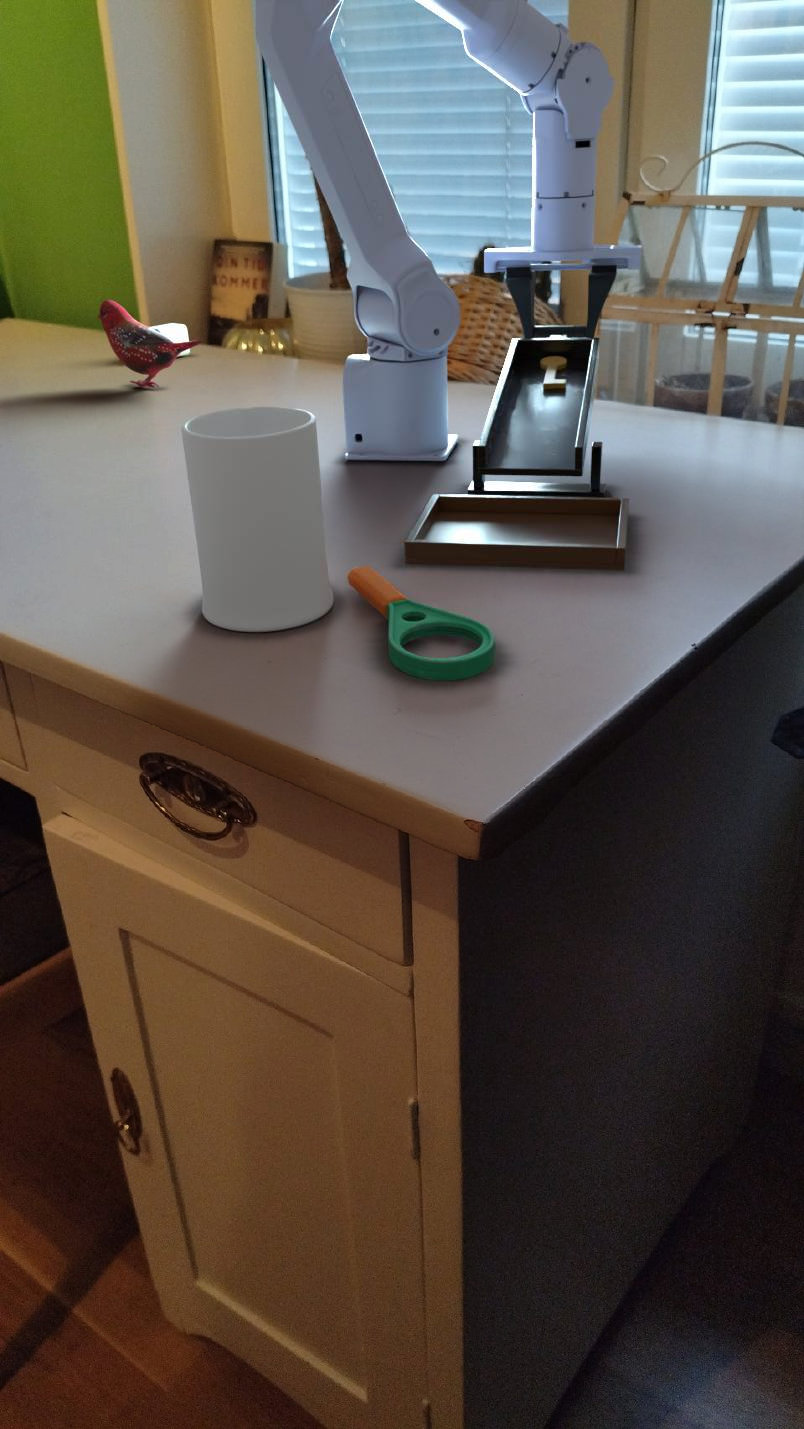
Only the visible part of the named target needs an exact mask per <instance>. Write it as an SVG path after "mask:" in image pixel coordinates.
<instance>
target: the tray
mask: <svg viewBox="0 0 804 1429" xmlns="http://www.w3.org/2000/svg"><path fill="white" fill-rule="evenodd" d="M629 508H630V498H629V497H577V496H528V495H479V494H444V493H440V494H438V493H433V494H431V496H430V498H429V500H428V501H427V503H426V504H425V506H424V508H423V510H422V512H421V513H420V515H419V517H418V518H417V520H416V521H415V523H414V526H413V527H412V529H411V530H410V532H409V534H408V536H407V537H406V539H404V540H405V541H404V557H405V558H404V560H405V561H404V563H405V564H415V565H416V564H417V565H418V564H421V565H448V566H449V565H450V566H476V567H477V566H478V567H481V566H483V567H508V568H511V567H512V568H538V569H541V568H542V569H568V570H569V569H572V570H598V571H599V570H600V571H601V570H602V571H625V567H626V552H627V541H628V540H627V538H628V525H629V523H628V522H629Z"/></svg>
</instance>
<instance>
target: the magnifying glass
mask: <svg viewBox="0 0 804 1429" xmlns="http://www.w3.org/2000/svg"><path fill="white" fill-rule="evenodd" d="M347 582H348V584H349V585H350V587H352V588H353V589H354V590H355V591H356V592H357V593H358V594H359V595H360V596H361V597H362V598H364V599H365V600H366V602H368V603H369V604H370V605H371V606H372V607H373V608H375V609H376V611H378V612H379V613H380V614H381V616H383V617H384V618H385V619H387V621H388V636H387V639H388V640H387V645H388V658H389V660H390V662H391V663H392V665H393V666H394V667H396V668H397V669H398V670H400V671H401V672H403V673H405V674H407V675H410V676H413V677H415V678H419V679H425V680H429V681H431V680H432V681H442V682H444V681H446V682H447V681H448V682H449V681H458V680H464V679H468V678H471V677H475V676H477V675H479V674H481V673H484V672H485V671H486V670H488V669H489V668H490V667H491V666H492V665H493V663H494V660H495V650H496V639H495V635H494V633H493V631H492V630H491V629H490V628H489V627H488V626H487V625H486V624H484V623H483V622H481V621H479V620H476V619H474V618H471V617H468V616H465V615H463V614H458V613H455V612H451V611H449V610H446V609H441V608H439V607H435V606H431V605H429V604H425V603H421V602H418V601H415V600H413V599H411V598H408V597H407V596H406V595H405V594H403V593H402V592H401V591H399V590H398V589H397V587H395V586H394V585H393V584H392V583H390V582H389V581H388V580H386V579H385V578H384V577H383V576H382V575H381V574H379V573H378V572H377V571H376V570H374V568H372V566H369V565H362V566H357V567H353V568H352V569H351V570H350V571H349V573H348V574H347ZM434 635H452V636H458V637H462V638H466V639H469V640H472V641H474V642H475V643H477V644H478V645H479V647H478V648H477V649H476V650H474V651H472V652H469V653H467V654H463V655H459V656H454V657H426V656H421V655H417V654H415V653H412V652H410V651H407V650H406V649H404V648H403V647H404V645H406V644H407V643H409V642H411V641H412V640H415V639H417V638H421V637H425V636H434Z"/></svg>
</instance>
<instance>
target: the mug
mask: <svg viewBox="0 0 804 1429" xmlns="http://www.w3.org/2000/svg"><path fill="white" fill-rule="evenodd" d="M316 418H317V417H316V416H315V415H314V414H313V413H312V412H310V411H307V410H304V409H299V408H294V407H285V406H247V407H236V408H229V409H221V410H217V411H212V412H208V413H204V414H200V415H198V416H195V417H193V418H190V419H188V420H186V421H185V422H184V423H183V424H182V425H181V437H182V445H183V452H184V460H185V467H186V474H187V482H188V488H189V496H190V504H191V512H192V519H193V526H194V534H195V540H196V547H197V555H198V563H199V569H200V577H201V578H200V579H201V585H202V602H201V613H202V615H203V618H204V619H206V621H208V622H209V623H211V624H212V625H214V626H216V627H218V628H222V629H225V630H230V631H235V632H246V633H263V632H264V633H265V632H277V631H283V630H288V629H293V628H297V627H300V626H304V625H306V624H310V623H312V622H314V621H316V620H318V619H320V618H322V617H323V616H324V615H326V614H327V613H328V612H329V611H330V610H331V609H332V607H333V605H334V602H335V596H334V593H333V590H332V587H331V583H330V578H329V577H330V576H329V569H328V559H327V543H326V533H325V521H324V519H325V518H324V507H323V506H324V505H323V493H322V480H321V467H320V455H319V454H320V453H319V443H318V442H319V441H318V428H317V420H316Z"/></svg>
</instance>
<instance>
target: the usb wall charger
mask: <svg viewBox="0 0 804 1429" xmlns="http://www.w3.org/2000/svg"><path fill="white" fill-rule="evenodd" d="M149 327H150V328H152V329H154V330H156V331H157V332H159V333H161V334H162V335H164V336H165V337H167V338H168V339H170V340H171V341H172V342H173V343H180V342H187V341H190V340H189V333H188V327H187V326H186V324H184V323H183V324H182V323H176V322H170V323H165V324H159V325H153V326H149ZM190 353H191V348H190V349H188V350H185V351H183V352H181V353H180V354H179V355H178V356H177V357H176V358H178V357H182V356H188V355H189V354H190Z"/></svg>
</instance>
